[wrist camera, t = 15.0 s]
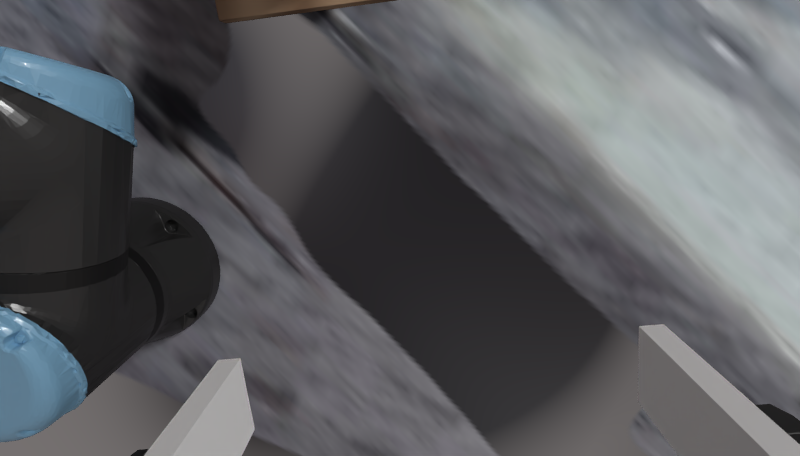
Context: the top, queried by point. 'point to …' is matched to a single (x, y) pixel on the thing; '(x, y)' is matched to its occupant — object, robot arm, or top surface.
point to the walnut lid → (278, 7)
